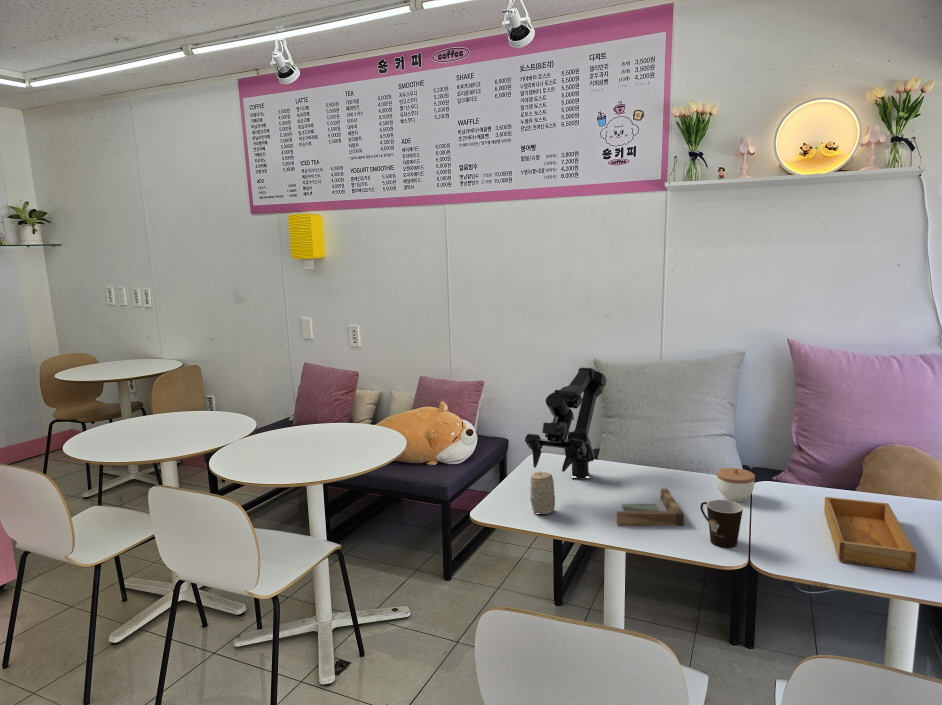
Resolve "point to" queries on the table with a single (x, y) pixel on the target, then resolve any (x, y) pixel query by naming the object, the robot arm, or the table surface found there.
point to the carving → (542, 493)
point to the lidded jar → (735, 483)
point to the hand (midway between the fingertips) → (548, 469)
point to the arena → (652, 513)
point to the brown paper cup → (723, 522)
